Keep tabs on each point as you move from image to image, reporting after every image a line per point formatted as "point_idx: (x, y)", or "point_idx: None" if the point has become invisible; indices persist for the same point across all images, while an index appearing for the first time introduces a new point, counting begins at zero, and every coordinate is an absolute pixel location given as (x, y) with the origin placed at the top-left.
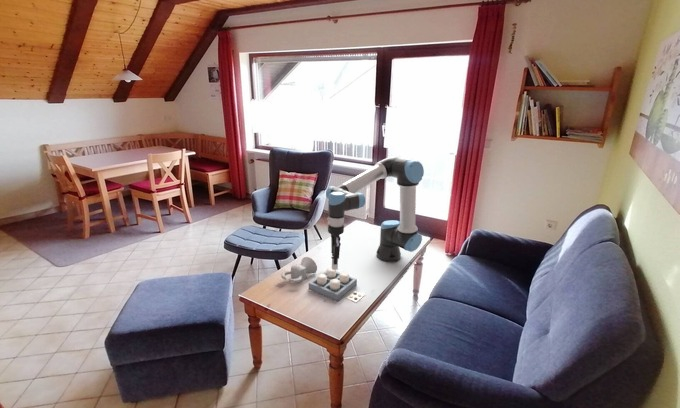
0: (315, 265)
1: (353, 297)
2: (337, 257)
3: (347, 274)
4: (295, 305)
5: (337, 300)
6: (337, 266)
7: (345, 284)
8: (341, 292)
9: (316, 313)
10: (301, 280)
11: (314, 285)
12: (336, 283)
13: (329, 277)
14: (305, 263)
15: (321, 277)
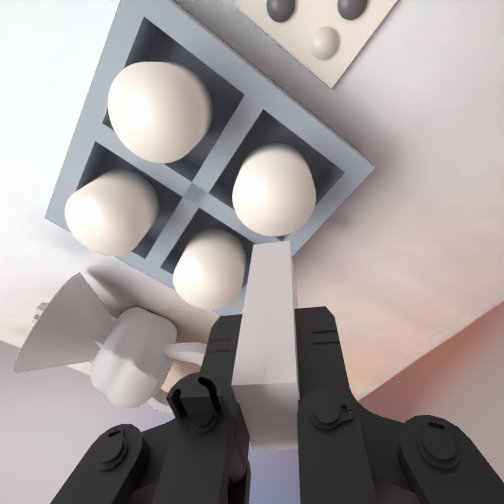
0: (56, 304)
1: (331, 24)
2: (476, 487)
3: (140, 81)
4: (360, 335)
5: (360, 152)
6: (290, 265)
7: None
8: (332, 132)
9: (445, 259)
10: (204, 344)
11: None
12: (301, 188)
13: (155, 217)
14: (69, 357)
15: (219, 285)
